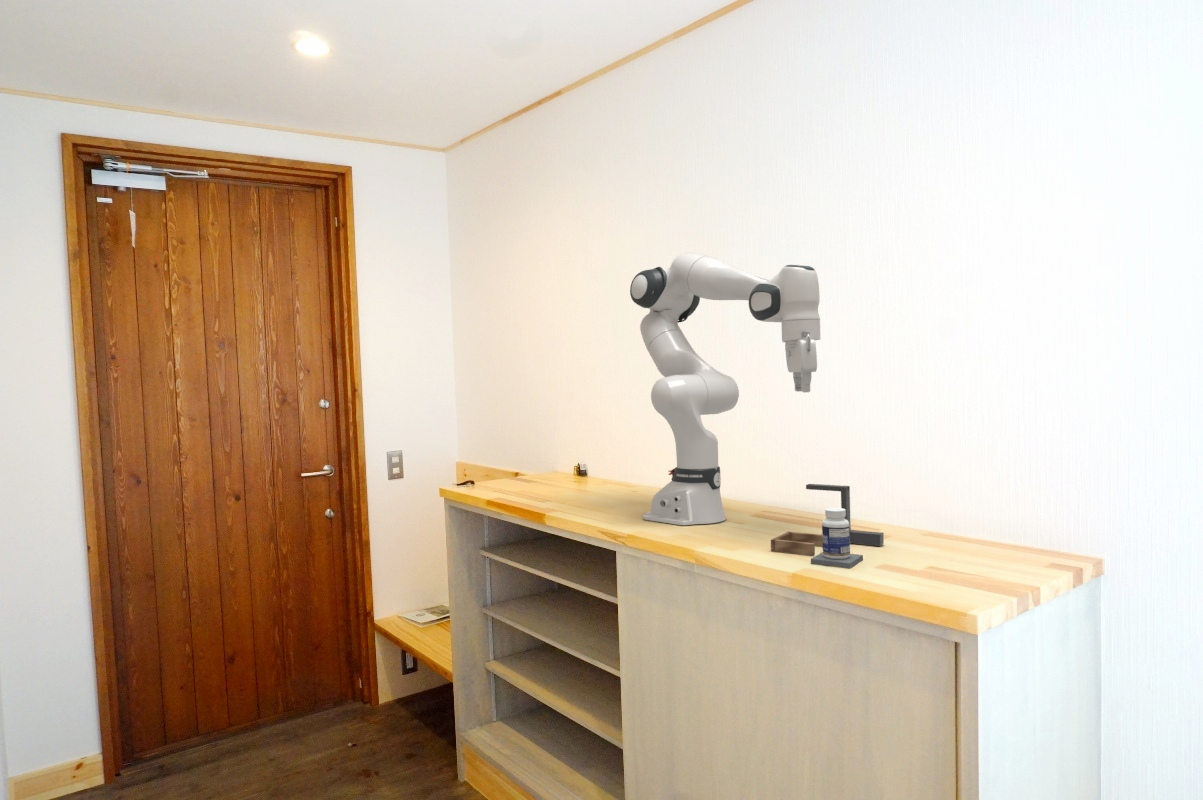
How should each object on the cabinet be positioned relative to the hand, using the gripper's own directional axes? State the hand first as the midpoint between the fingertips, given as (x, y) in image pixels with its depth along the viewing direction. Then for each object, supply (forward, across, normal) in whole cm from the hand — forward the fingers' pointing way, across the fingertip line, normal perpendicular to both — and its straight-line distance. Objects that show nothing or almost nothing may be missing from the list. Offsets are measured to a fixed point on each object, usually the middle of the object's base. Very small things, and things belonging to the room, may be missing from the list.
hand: (802, 391), depth 185 cm
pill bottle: (+33, -26, -2) cm, 42 cm away
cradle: (+34, -14, +3) cm, 37 cm away
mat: (+34, -26, -2) cm, 43 cm away
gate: (+34, -8, -7) cm, 36 cm away
